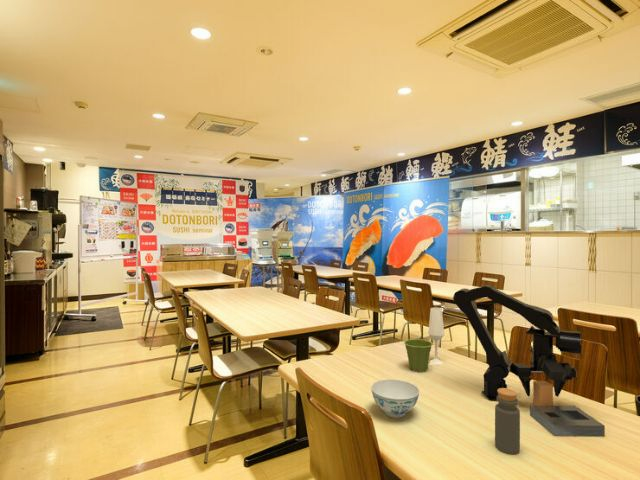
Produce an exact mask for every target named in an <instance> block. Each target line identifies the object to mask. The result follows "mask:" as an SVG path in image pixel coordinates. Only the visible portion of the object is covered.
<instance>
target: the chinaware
mask: <svg viewBox="0 0 640 480" xmlns="http://www.w3.org/2000/svg"><path fill="white" fill-rule="evenodd" d="M370 390H371V394H372V398H373V400H374V402H375V404H377V406H378V407H379V408H380V409H381V410H382V411H383V413H384V414H385V415H386V416H388V417H390V418H396V419H397V418H398V419H399V418H403V417H404V416H406V414H407V413H408V412H410V411H411V410H412V409H413V408H414V407H415V406H416V404H417V402H418V399H419V396H420V389H419V387H418V386H417V385H415V384H414V383H411V382H409V381H406V380H402V379H396V378H395V379H394V378H393V379H391V378H389V379H388V378H387V379H380V380H377V381H375V382H373V383H372V384H371V386H370Z"/></svg>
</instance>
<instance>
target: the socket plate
mask: <svg viewBox="0 0 640 480" xmlns="http://www.w3.org/2000/svg"><path fill="white" fill-rule="evenodd" d="M529 416H530V417H532V418H533V419H534V420H535V421H536V422H537V423H539V424H540V425H541V426H542V427H543V428H544V429H546V430H547V432H549V433H550V434H551V436H553V437H605V434H606V433H605V432H606V430H605V427H606V426H605V424H603V423H601V422H600V421H599V420H597V419H596V418H594V417H592V416H591V415H589V414H588V413H586V412H585V411H584V410H582V409H580V408H579V407H578V406H576V405H553V406H547V405H533V404H532V405H530V404H529Z"/></svg>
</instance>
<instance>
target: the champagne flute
mask: <svg viewBox="0 0 640 480" xmlns="http://www.w3.org/2000/svg"><path fill="white" fill-rule="evenodd" d="M443 318H444V317H443V308H441V307H430V312H429V321H428V332H427V333H428V336H429V337H430V338H431V340H432V341H434V358H433V359H431V360H430V359H429V361H430V362H432V363H434V364H442V363H444V362H443V361H442V360H440V359H439V358H438V354H439V353H438V348H439V347H438V344H439V343H438V342H439V341H440V340H441V339H443V337H444V335H445V330H444V329H445V327H444V319H443Z"/></svg>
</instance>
